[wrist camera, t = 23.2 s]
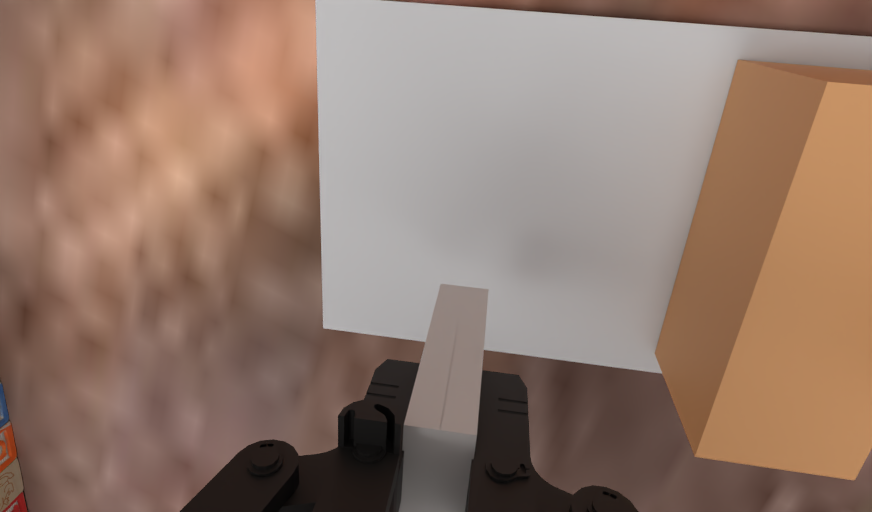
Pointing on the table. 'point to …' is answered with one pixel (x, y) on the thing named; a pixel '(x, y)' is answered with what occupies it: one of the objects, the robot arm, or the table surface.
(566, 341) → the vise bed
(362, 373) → the table surface
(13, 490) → the stack of blocks
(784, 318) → the block
